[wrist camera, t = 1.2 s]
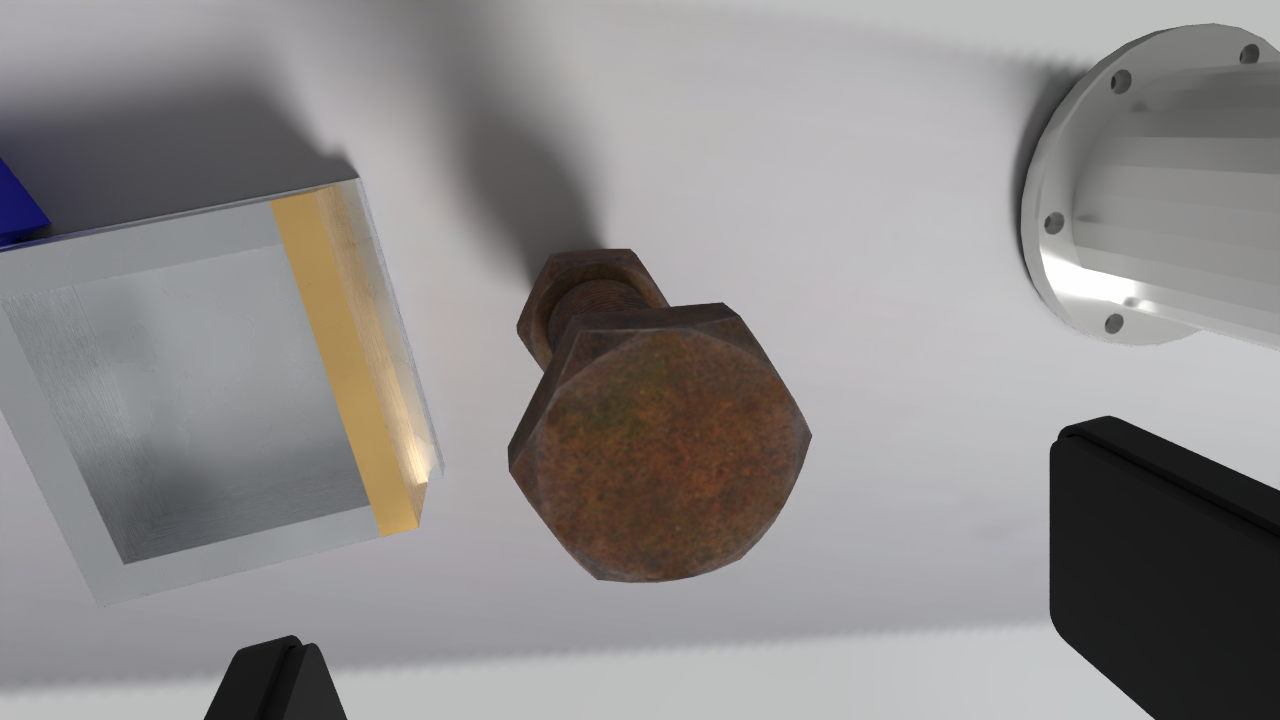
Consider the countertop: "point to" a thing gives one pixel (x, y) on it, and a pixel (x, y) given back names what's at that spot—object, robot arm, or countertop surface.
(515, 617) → the countertop surface
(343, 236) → the shallow open tray
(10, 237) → the cable clip
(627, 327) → the bolt
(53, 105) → the countertop surface
